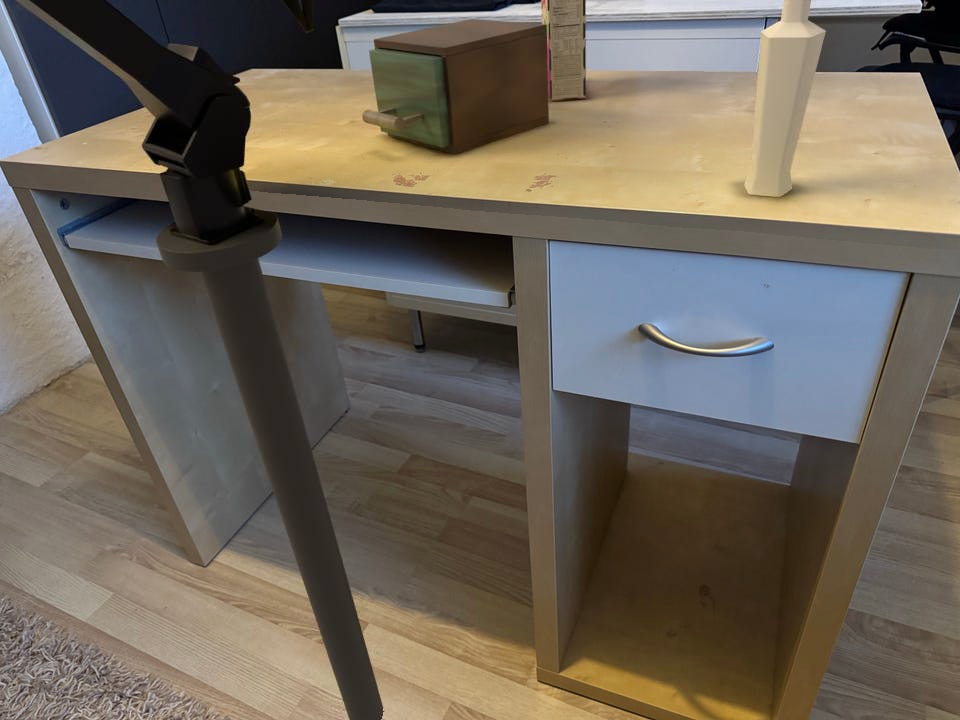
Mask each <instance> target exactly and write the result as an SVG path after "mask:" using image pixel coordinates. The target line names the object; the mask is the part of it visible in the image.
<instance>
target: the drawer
mask: <svg viewBox="0 0 960 720" xmlns="http://www.w3.org/2000/svg"><path fill="white" fill-rule="evenodd" d="M368 54H369V60H370V65H371V66H370V67H371V75H372V80H373V86H374V93H375V100H376V106H377V107H376V108H377V111H375V110H371V109H365V110H364V111H363V112H362V115H361V119H362V121H363V123H365V124H369V125H373V126H376V127H380V131H381V132H383V133H385V134H387V133H389V134H393V135H396V136H400V137H404V138H408V139H411V140H415V141H419V142H423V143H426V144H430V145H434V146H438V147H441V148H444V147H447V146H450V145H451V140H450V130H449V120H448V110H447V99H446V89H445V79H444V69H443V59H442V56H440V55H433V54H425V53H417V52H410V51H402V50H394V49H392V50H384V49H375V48H374V49H369V50H368Z"/></svg>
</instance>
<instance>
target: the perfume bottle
mask: <svg viewBox="0 0 960 720" xmlns="http://www.w3.org/2000/svg"><path fill="white" fill-rule="evenodd" d="M811 3H812V0H783V4H782V10H781V17H780V20H779V21H777V22H775V23H774V24H771V25H770V26H768V27H766V28H764V29H763V30H761V31H760V39H759V43H760V44H759V53H758V68H757V81H756V95H755V96H756V97H755V109H754V119H753V120H754V122H753V125H754V126H753V133H752V134H753V137H752V149H751V161H750V162H751V163H750V170H749V172H748V174H747V177H746V179H745V182H744V183H743V186H744V189H745V190H746V192H747V194H748V195H750V196H761V197H762V196H763V197H774V198H780V197H781V198H782V196H784V195H786V194H787V193H788V192H790V191H791V190H792V189H793V184H792V174H791V169H792V166H793V161H794V159H795V154H796V150H797V146H798V142H799V139H800V134H801V131H802V127H803V122H804V118H805V115H806V111H807V107H808V103H809V99H810V95H811V91H812V88H813V82H814V80H815V76H816V72H817V67H818V64H819V61H820V55H821V52H822V48H823V43H824V39H825V37H826V33H827V32H826V30H825V29H824V28H822V27H820V26H818V25H817V24H816V23H814V22H812V21H810V20H809V16H810V15H809V14H810V11H811Z"/></svg>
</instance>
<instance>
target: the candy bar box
mask: <svg viewBox="0 0 960 720" xmlns="http://www.w3.org/2000/svg"><path fill="white" fill-rule="evenodd" d="M586 1H587V0H540V10H541V13H540V14H541V24H546V25H547V55H548V98H549V99H550V100H549V101H551V102H565V101H573V100H581V99H582V100H583V99H586V98H587V94H586V93H587V92H586V91H587V89H586V88H587V87H586V86H587V85H586V84H587V59H586V57H587V53H586V52H587V49H586V48H587V46H586V45H587V35H586V29H587V28H586V27H587V17H586V16H587V13H586V10H587V8H586V7H587V5H586V4H587V3H586Z"/></svg>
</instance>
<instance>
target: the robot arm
mask: <svg viewBox="0 0 960 720" xmlns="http://www.w3.org/2000/svg"><path fill="white" fill-rule="evenodd" d="M281 1H282V2H283V4H284V5H285V6H286V8H287V9H288V10H289V12H290V13H291V14H292V15H293V17H294V18H295V20H296V21H297V23H299V25H300V26H301V28H302V29H303V30H304V32H305V33H310V32H312V31H314V30H315V24H314V5H313V0H281ZM15 2H17V3H18V4H19V5H21V6H22V7H24V8H25V9H27V10H28V11H29V12H30V13H32V14H33V15H35V16H36V17H37V18H38V19H40V20H41V21H42V22H44V23H46V25H48V26H50V27H51V28H52V29H54V30H55V31H56V32H58V33H59V34H60V35H62V36H63V37H64V38H66V39H67V40H68V41H70V42H71V43H72V44H74V45H75V46H77V47H78V48H79V49H81V50H82V51H84V52H85V53H87V55H89V56H90V57H92V58H93V59H95V60H96V61H97V62H99V63H100V64H101V65H103V66H104V67H106V68H107V69H108V70H109V71H111V72H112V73H114V74H115V75H117V76H118V77H119V78H120V79H121V80H122V81H123V82H124V83H125V85H127V86H128V88H129V89H130V90H131V91H132V93H133V94H134V96H135V97H136V98H137V99H138V101H139V102H140V103H141V104H142V106H143V107H144V108H145V109H146V110H147V111H148V112H149V113H150V114H151V115H152V116H153V117H154V120H153V122H152V124H151V125H150V126H149V127H150V128H149V129H148V131H147V133H146V135H145V138H143V141H142V142H141V148H142V150H143V151H144V152H145V154H146V156H148V158H149V159H150V161H152V163H153V164H154V165H156V166H162V167H164V168H166V170H164V171H163V172H160V173H159V176H160V180H161V183H162V186H163V189H164V192H165V194H166V197H167V200H168V204H169V206H170V209H171V212H172V216H173V218H174V222H176V224H177V227H174V228H172V229H170V230H169V231H170V234H171V235H172V236H176V237H179V238H183V239H187V240H190V241H194V242H197V243H201V244H205V245H209V246H212V245H215V244H218V243H220V242H222V241H224V240H226V239H228V238H230V237H233V236H235V235H237V234H239V233H241V232H243V231H245V230H248V229H250V228H252V227H254V226H256V225H258V224H260V223H263V222H264V218H263V216H260V215H256V214H252V213H253V212H254V209H255V208H253V207H249V206H246V204H249V203H250V201H252V199H253V198H252V194H251V192H250V187H249V185H248V184H249V183H248V181H247V177H246V173H245V171H243V170H242V169H241V168H243V167H244V166H245V158H246V140H247V135H248V132H249V130H250V128H251V122H252V113H251V102H250V100H249V98H248V96H247V95H246V93H244V91H243V90H242V89H241V88H240V87H239V86H237V85H236V84H239V83H240V82H241V78H240V77H237V76H235V75H232V74H230V73H229V72H227V71H226V70H224V69H223V68H222V67H221V66H220V65H219V64H218V63H217V62H216V60H214V58H213V57H212V56H211V55H210V54H209V53H208V52H207V51H206V50H205V49H203V47H201V46H193V45H185V44H179V43H168V45H167V47H165V46H163V45H162V44H160V43H159V42H158V41H157V40H156V39H155V38H153V37H152V36H151V35H149V34H148V33H147V32H146V31H144V30H143V29H142V28H141V27H140V26H138V25H137V24H136V23H135V22H133V21H132V20H131V19H129V17H127V16H126V15H124V13H122V12H121V11H120V10H119V9H117V8H116V7H115V6H114V5H112V4H111V3H110V2H108V0H15Z"/></svg>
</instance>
